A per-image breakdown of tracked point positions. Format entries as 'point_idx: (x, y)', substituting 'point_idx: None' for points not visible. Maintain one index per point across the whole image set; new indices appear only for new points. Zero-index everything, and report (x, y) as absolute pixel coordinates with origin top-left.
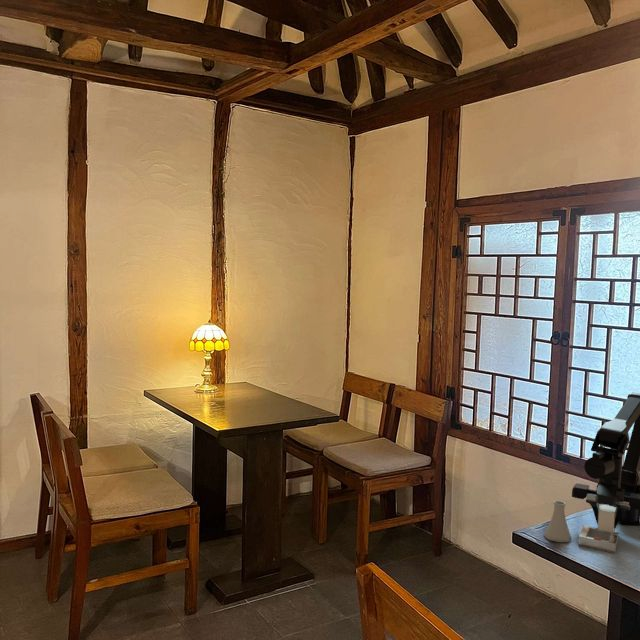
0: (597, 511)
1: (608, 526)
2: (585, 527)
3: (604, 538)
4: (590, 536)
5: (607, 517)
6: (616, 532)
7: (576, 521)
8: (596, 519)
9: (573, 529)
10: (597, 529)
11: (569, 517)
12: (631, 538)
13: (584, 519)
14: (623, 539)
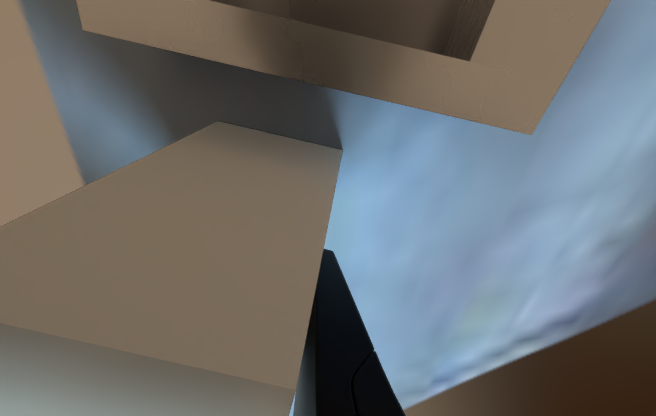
0: (325, 383)
1: (212, 166)
2: (534, 54)
3: (282, 11)
4: (438, 2)
5: (156, 235)
6: (108, 30)
7: (445, 336)
8: (340, 283)
9: (533, 201)
10: (357, 36)
11: (471, 374)
12: (97, 170)
13: (385, 366)
14: (138, 124)
